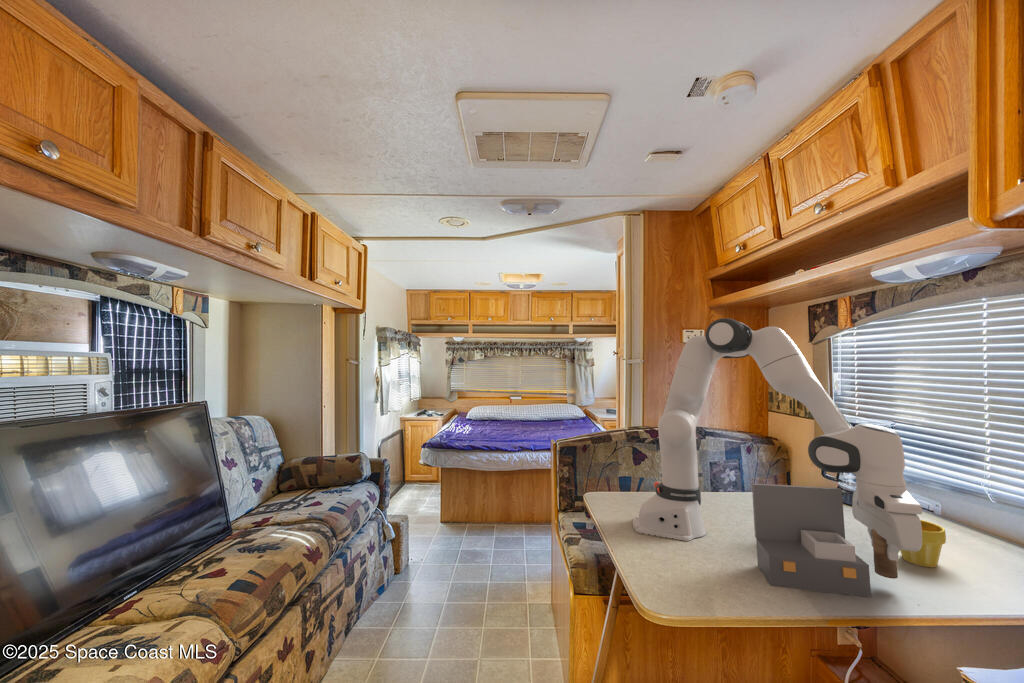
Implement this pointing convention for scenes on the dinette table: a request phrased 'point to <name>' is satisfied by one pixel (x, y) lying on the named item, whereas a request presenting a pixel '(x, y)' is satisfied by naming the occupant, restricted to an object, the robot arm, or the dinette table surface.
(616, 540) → the dinette table surface
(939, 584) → the dinette table surface
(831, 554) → the case
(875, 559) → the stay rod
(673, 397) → the robot arm
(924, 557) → the plant pot
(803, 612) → the dinette table surface
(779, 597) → the dinette table surface
